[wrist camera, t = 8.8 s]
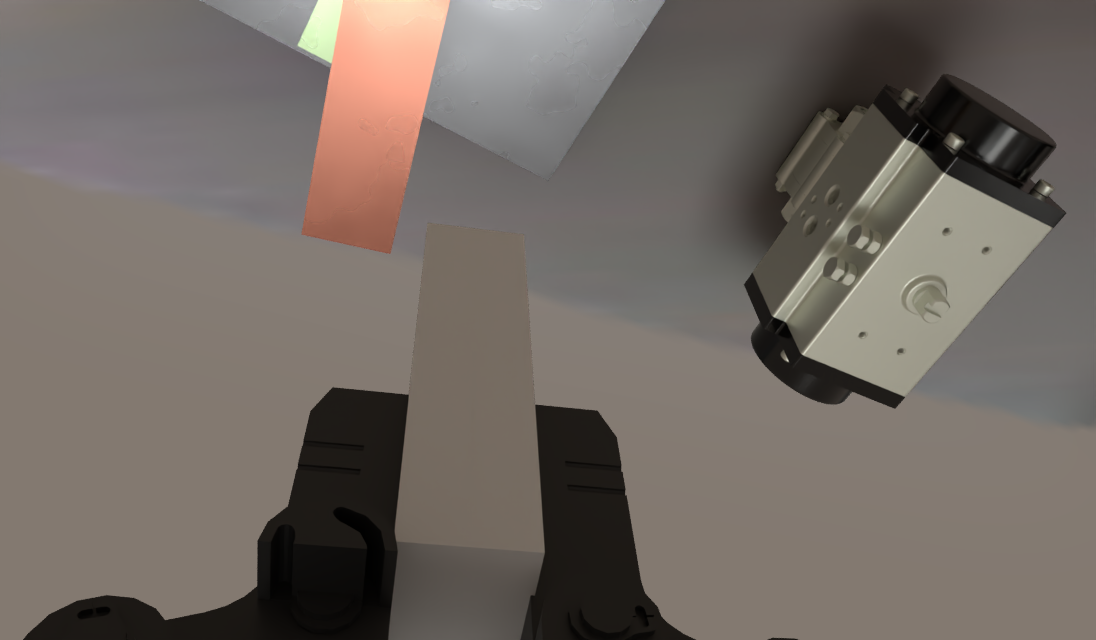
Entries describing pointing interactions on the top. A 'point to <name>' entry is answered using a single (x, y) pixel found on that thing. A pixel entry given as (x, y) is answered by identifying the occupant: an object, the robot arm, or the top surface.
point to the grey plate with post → (494, 64)
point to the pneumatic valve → (896, 238)
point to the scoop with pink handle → (372, 119)
